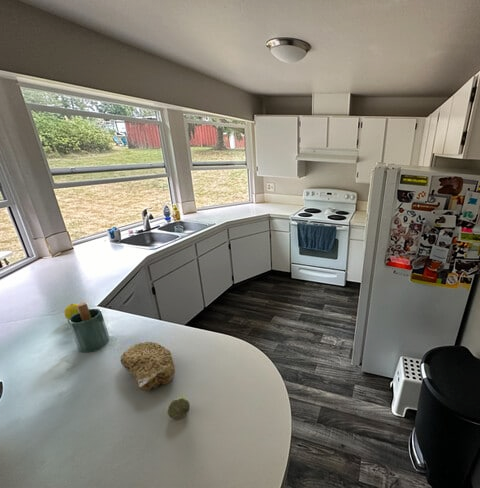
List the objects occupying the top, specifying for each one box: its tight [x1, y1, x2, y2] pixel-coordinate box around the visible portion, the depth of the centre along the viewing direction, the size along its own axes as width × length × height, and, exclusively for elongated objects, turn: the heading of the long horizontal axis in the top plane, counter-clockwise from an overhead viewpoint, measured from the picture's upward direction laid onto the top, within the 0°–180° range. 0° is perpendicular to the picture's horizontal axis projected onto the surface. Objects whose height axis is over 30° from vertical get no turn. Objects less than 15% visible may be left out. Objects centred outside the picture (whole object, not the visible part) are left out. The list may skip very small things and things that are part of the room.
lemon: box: [63, 303, 79, 320], centre depth 100 cm, size 6×6×8 cm
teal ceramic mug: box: [67, 308, 111, 353], centre depth 88 cm, size 8×8×12 cm
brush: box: [77, 301, 92, 322], centre depth 87 cm, size 4×4×16 cm
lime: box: [167, 396, 191, 421], centre depth 66 cm, size 4×5×5 cm
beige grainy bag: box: [120, 341, 176, 392], centre depth 79 cm, size 13×8×20 cm
